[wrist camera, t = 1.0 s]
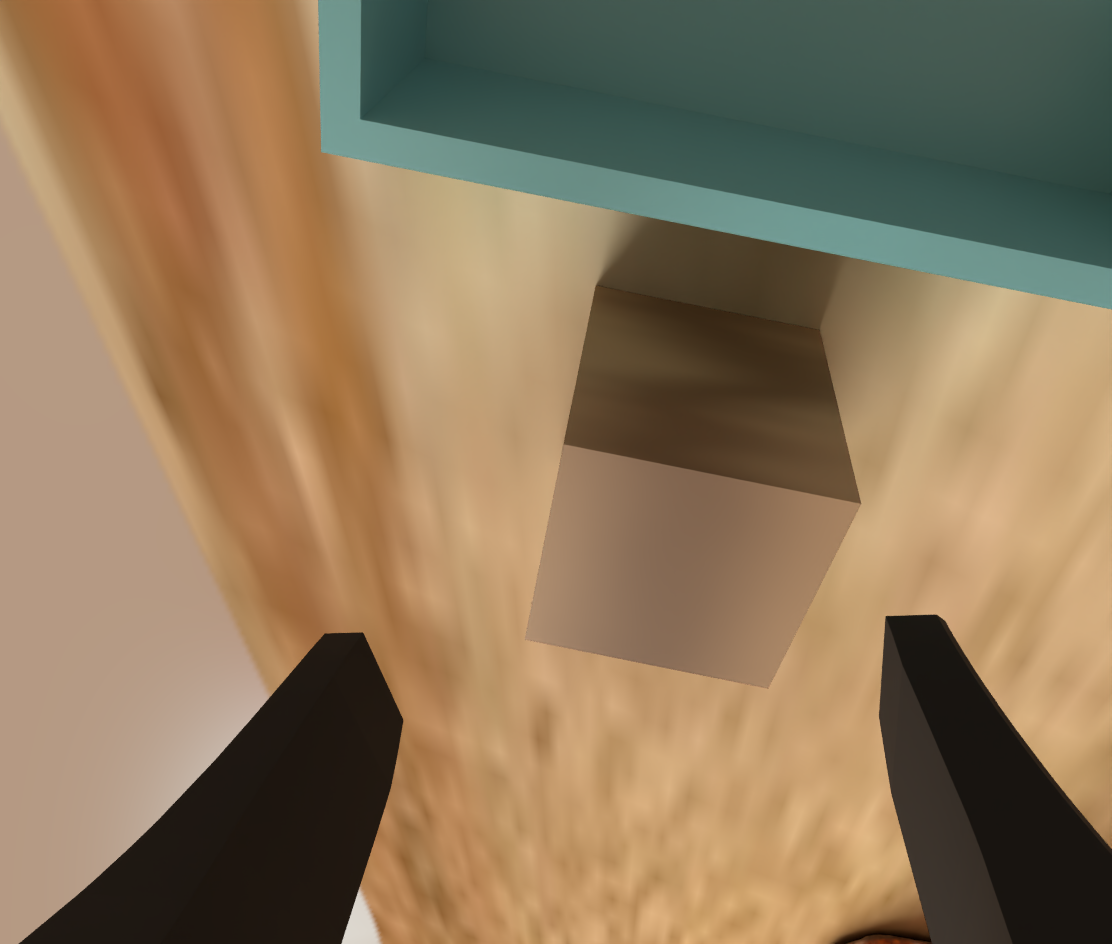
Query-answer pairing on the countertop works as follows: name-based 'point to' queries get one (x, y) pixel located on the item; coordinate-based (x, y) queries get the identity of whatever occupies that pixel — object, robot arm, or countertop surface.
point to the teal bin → (761, 119)
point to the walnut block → (693, 490)
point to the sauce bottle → (887, 940)
